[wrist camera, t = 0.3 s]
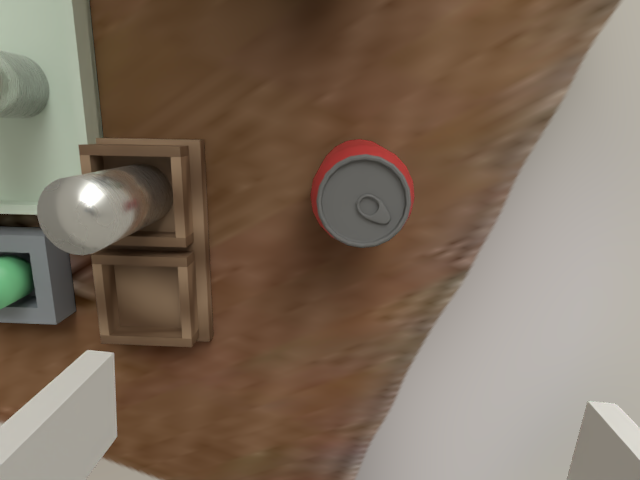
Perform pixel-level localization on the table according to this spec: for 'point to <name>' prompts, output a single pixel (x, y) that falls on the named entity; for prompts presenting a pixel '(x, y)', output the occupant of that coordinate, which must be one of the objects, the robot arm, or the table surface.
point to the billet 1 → (21, 86)
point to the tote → (64, 98)
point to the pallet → (156, 251)
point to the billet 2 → (102, 206)
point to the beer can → (362, 194)
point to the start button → (14, 279)
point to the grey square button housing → (39, 278)
